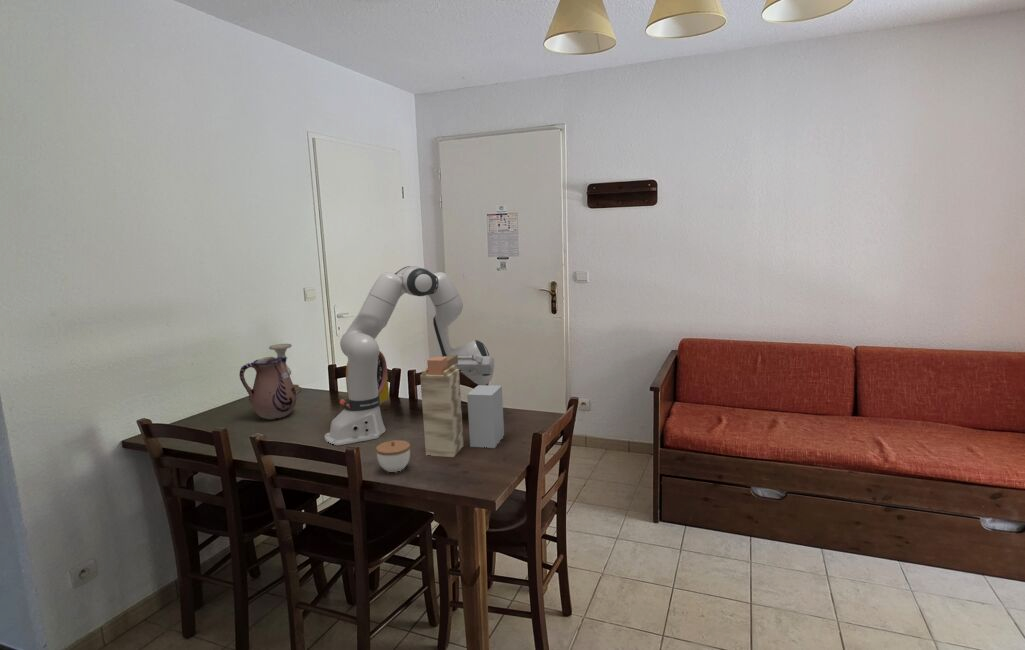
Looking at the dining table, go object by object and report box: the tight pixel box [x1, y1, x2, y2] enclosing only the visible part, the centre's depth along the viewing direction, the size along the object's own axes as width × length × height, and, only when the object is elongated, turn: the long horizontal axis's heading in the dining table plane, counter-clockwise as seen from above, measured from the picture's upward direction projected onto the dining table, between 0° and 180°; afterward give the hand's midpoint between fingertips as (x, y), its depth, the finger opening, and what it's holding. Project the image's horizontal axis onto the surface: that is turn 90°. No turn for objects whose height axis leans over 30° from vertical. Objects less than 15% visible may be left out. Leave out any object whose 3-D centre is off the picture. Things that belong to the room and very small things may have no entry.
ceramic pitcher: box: [238, 356, 297, 420], centre depth 250 cm, size 18×21×25 cm
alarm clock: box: [345, 350, 390, 404], centre depth 262 cm, size 21×9×26 cm, turn 164°
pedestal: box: [466, 384, 505, 449], centre depth 211 cm, size 12×9×19 cm
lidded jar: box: [375, 439, 411, 473], centre depth 191 cm, size 11×11×9 cm
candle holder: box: [268, 343, 302, 392], centre depth 287 cm, size 11×11×24 cm
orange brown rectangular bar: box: [426, 355, 458, 375], centre depth 205 cm, size 18×5×5 cm, turn 165°
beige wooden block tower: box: [419, 365, 464, 458], centre depth 203 cm, size 10×10×30 cm
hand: (461, 357), depth 222 cm, fingers open, 8 cm apart
